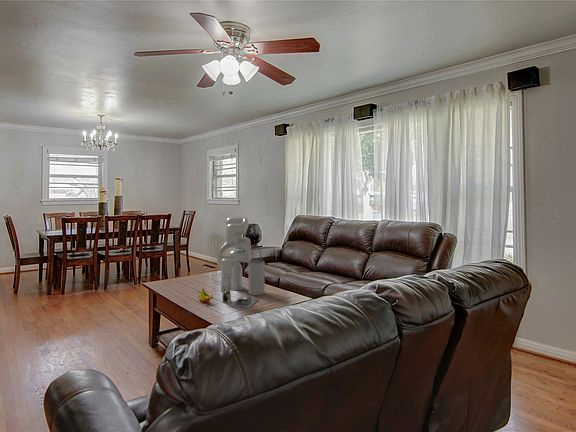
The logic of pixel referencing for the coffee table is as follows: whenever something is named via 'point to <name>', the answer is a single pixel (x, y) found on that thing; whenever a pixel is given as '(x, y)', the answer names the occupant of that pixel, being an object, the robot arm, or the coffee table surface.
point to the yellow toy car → (204, 296)
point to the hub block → (228, 298)
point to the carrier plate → (244, 302)
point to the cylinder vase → (256, 277)
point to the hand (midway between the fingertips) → (226, 300)
